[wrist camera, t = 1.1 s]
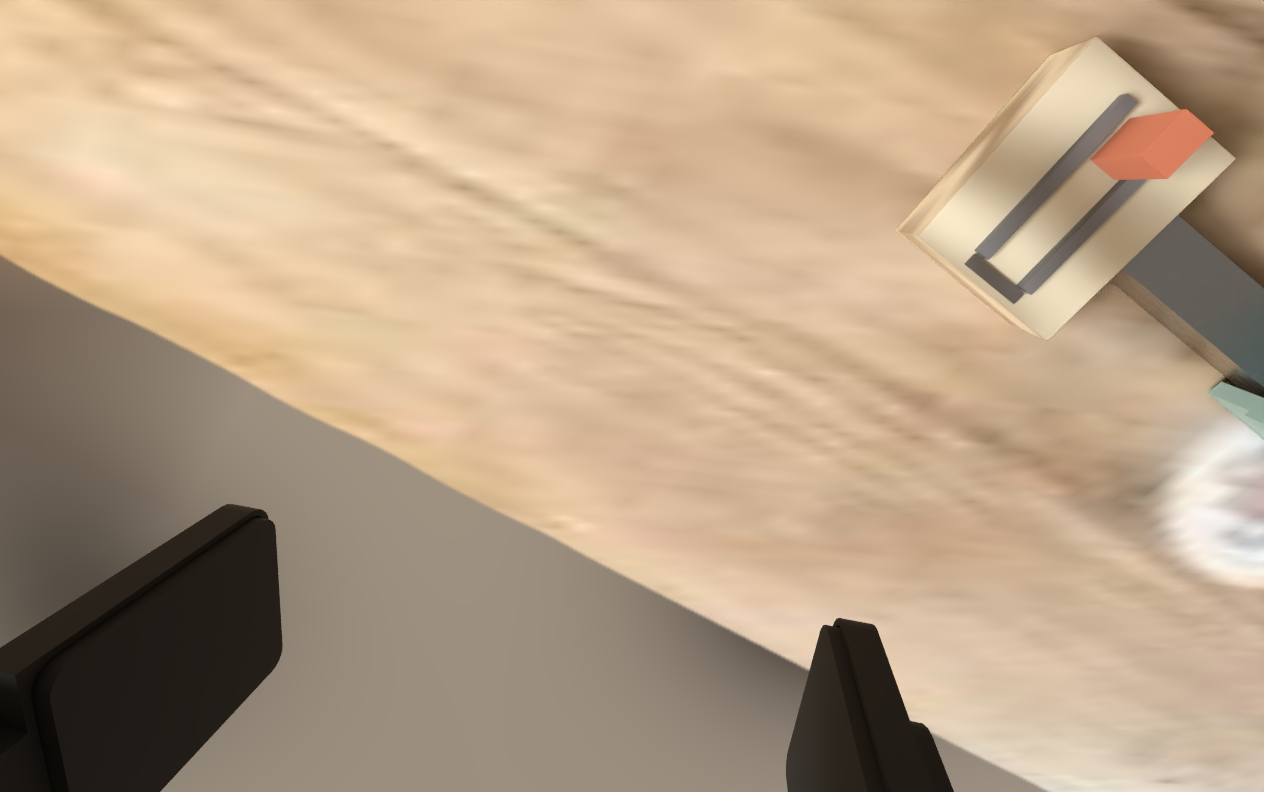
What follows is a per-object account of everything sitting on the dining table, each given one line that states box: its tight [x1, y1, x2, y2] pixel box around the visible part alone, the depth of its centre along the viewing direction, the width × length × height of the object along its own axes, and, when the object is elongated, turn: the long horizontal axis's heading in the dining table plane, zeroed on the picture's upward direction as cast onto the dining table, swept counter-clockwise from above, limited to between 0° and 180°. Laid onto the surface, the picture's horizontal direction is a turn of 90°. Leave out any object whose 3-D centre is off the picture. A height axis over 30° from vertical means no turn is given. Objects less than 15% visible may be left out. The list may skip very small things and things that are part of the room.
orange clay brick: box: [1090, 109, 1214, 180], centre depth 26 cm, size 2×1×4 cm
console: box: [896, 37, 1236, 341], centre depth 30 cm, size 10×8×5 cm
